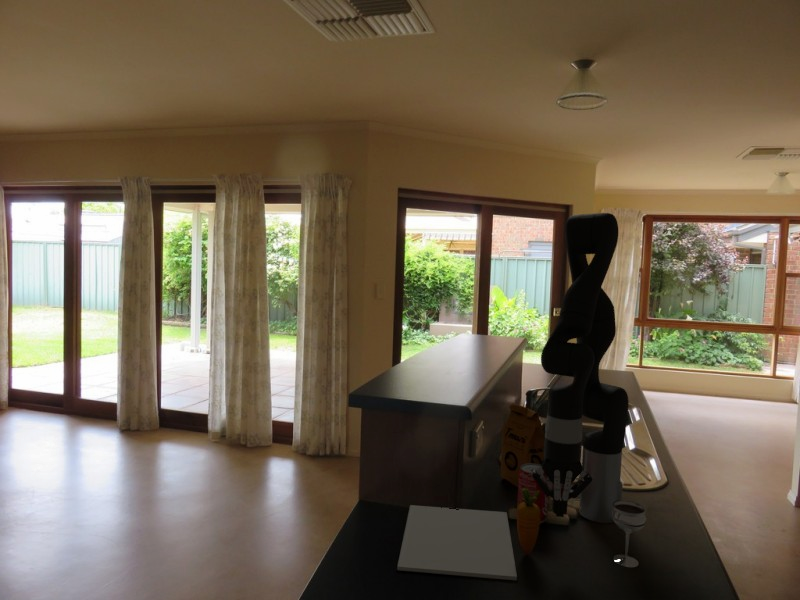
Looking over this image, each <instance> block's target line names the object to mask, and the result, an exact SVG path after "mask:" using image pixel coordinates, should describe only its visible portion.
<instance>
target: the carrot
mask: <svg viewBox="0 0 800 600" xmlns="http://www.w3.org/2000/svg"><path fill="white" fill-rule="evenodd" d="M522 493H523V496H524V498H522V500H523V501H524V502H523V503H521V504H520V505H518V507H517V506H516V507H517V508H516V528H517V530H516V531H517V536H518V541H519V545H520V548H521V549H522V551H523V554H524V555H525V556H529V555H530V554H531V552H532V551H533V549H534V547H535V545H536V543H537V539H538V535H539V531H540V525H541V524H540V509H539V507H538V506H537V505H536V504H534V501H535V500H537V496H538V494H539V493H540V491H539V490H537V491H536V492H535V494H534V496H533V498H531V495H530V492H529V490H528V489H526V490H525V488H523V489H522ZM527 495H528V496H527ZM528 499H529V500H528ZM531 499H532V501H531Z"/></svg>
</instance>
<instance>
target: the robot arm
mask: <svg viewBox="0 0 800 600" xmlns="http://www.w3.org/2000/svg"><path fill="white" fill-rule="evenodd" d="M564 236H565V238H564V239H565V246H566V252H567V253H566V254H567V260H568V266H569V271H570V278H571V284H570V285H569V287H568V289H567V290H566V292H565V294H564V296H563V298H562V303H561V305H560V311H559V317H558V320H557V323H556V324H555V327H554V329H553V331H552V333H551V334H550V336H549V338H548V339H547V341H546V342H545V345H544V347H543V348H542V352H541V355H540V363H541V367H542V368H543V370H544V372H545V373H547V374H550V375H555V376H556V375H557V376H562V377H563V376H565V377H571V378H573V380H572V383H570V384H564V385H563V384H562V385H559V384H558V385H554V386H552V387H550V388H549V390H548V395H547V413H546V420H545V427H544V437H545V445H544V459H543V461H542V462H541V466H540V467H539V468H537V469H532V470H531V473H532V476H533V478H534V480H535V481H536V482H537V484H538V485H539V486H540V488H541V489H542V490H543V492H544V493H545V495H546V496H547V497H548V498H549V497H550V498H552V503H551V504H552V505H551V507H552V508H551V509H552V512H553V514H554V515H555V516H556V517H557V518H564V516H566V514H567V513H568V501H569V500H570V499H577V498H578V496H579V502H578V504H579V506H580V507H581V510H582V512H581V511H580V509H578V512H579V514H580V516H582V517H583V518H584V519H587V520H588V521H591V522H595V523H600V524H610V523H615V522H614V520H613V518H612V511H613V509H614V506H613V502H615V501H618V500H623V499H622V498H623V482H622V481H621V474H622V458H623V457H622V456H623V446H624V445H623V444H624V441H625V437H626V430H627V429H626V428H627V422H628V413H629V402H630V401H629V395H628V392H627V391H626V390H625V388H623V387H620V386H616V385H612V384H608V383H603V382H601V381H600V374H599V372H600V371H599V370H600V364H601V361H602V359H603V358H604V357H605V355H606V353H607V351H608V350H609V348H610V347H611V345H612V343H613V342H614V340H615V337H616V331H617V329H616V328H617V327H616V313H615V306H614V303H613V302H612V300H611V298H610V297H609V296H608V294H607V293H606V292H605V290H604V289H603V288H602V286H603V284H604V281H605V279H606V276H607V275H608V274H607V273H608V271H609V268H610V265H611V263H612V260H613V258H614V254H615V252H616V248H617V245H618V242H619V241H618V239H619V224H618V220H617V217H616V216H615V215H614V214H613V213H609V212H599V213H598V212H597V213H586V214H585V213H584V214H573V215H570V216H569V217H568V218H567V219H566V222H565V227H564ZM587 255H593V257H592V259H591V261H590V263H588V259H587ZM573 339H576V342H570V341H571V340H573ZM583 416H584V417H585V418H587V419H591V420H594V421H598V422H602V423H603V427H602V430H595V431H590V432H587V433H585V434H583ZM543 471H544V472H545V474H546V475H547V477H548V481H550V482H551V488H550V487H549V484H548V485H547V484H546V483H545V481H544V480H543V479H542V478H543V477H544V476H543ZM577 478H578V479H577ZM575 480H577V481H576V482H575V483H574V484H573V482H574V481H575ZM572 484H573V485H572ZM571 485H572V486H571ZM579 506H578V507H579Z"/></svg>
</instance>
